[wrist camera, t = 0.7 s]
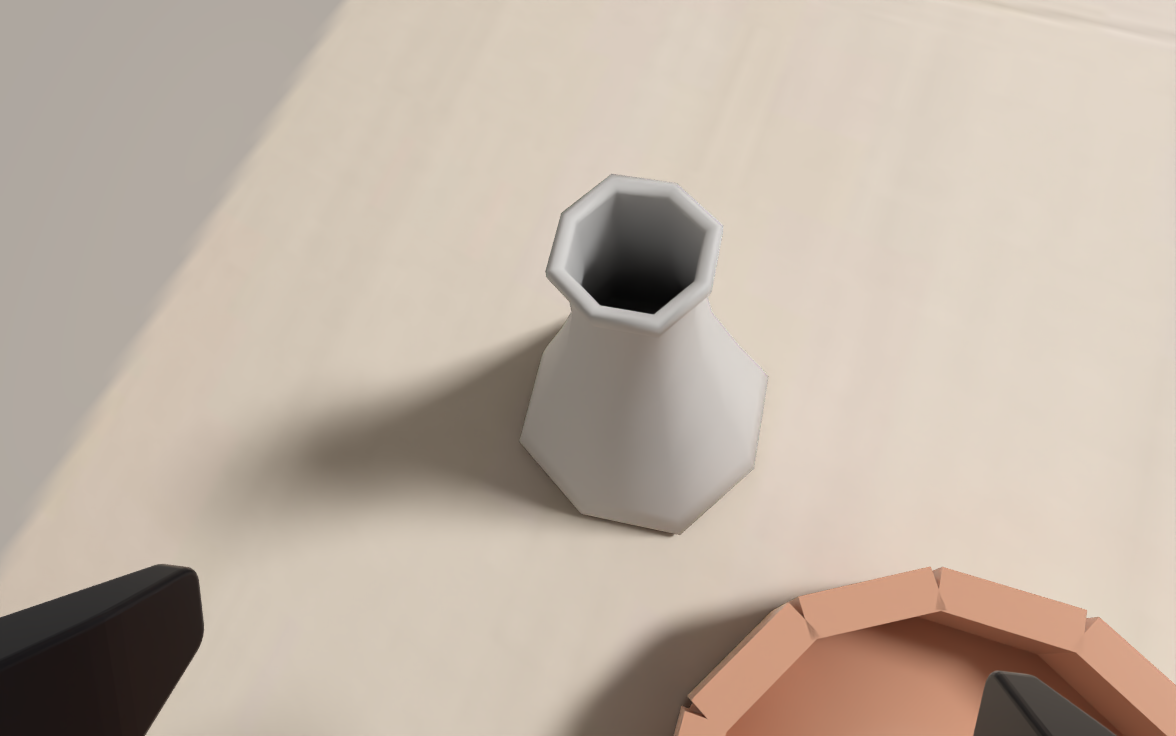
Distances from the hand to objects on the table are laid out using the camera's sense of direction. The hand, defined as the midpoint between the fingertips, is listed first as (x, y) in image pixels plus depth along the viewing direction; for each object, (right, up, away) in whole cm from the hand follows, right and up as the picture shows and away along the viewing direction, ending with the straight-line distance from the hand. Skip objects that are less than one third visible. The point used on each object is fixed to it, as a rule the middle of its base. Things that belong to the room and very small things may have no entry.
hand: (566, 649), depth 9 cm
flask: (+2, +2, +15) cm, 15 cm away
